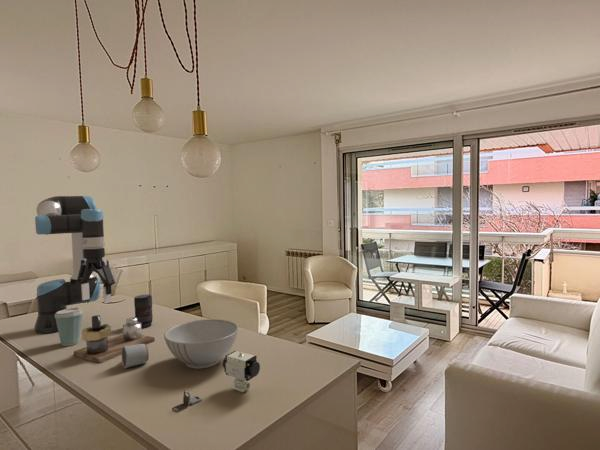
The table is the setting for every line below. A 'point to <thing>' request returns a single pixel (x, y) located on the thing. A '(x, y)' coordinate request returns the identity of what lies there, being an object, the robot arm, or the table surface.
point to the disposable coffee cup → (69, 325)
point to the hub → (132, 329)
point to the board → (113, 348)
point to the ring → (96, 333)
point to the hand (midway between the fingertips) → (96, 301)
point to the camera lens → (143, 310)
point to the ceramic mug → (134, 355)
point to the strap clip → (187, 401)
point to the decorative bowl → (201, 341)
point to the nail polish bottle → (97, 345)
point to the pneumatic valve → (241, 369)
